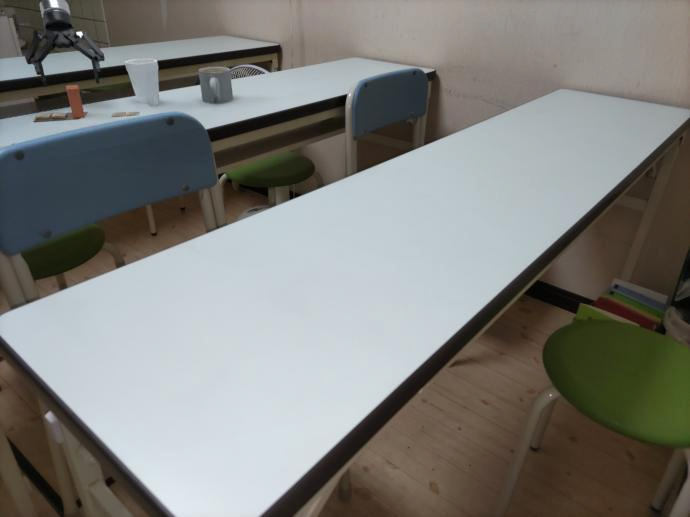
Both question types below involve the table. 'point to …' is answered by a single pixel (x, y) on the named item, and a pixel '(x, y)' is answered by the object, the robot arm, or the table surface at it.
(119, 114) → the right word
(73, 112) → the orange rectangular block
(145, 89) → the foam cup
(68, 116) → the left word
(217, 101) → the coffee mug
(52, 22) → the robot arm
